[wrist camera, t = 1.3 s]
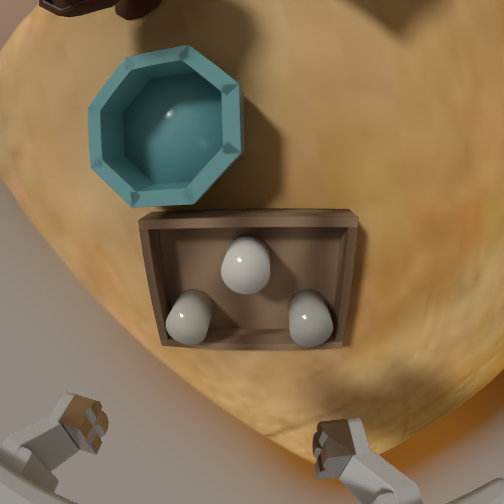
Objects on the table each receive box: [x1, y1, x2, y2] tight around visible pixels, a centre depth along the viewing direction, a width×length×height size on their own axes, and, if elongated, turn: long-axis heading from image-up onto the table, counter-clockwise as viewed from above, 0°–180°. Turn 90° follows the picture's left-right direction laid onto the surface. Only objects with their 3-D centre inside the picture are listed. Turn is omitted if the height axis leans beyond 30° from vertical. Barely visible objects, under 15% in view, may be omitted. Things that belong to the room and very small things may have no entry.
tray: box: [138, 209, 359, 350], centre depth 26 cm, size 18×13×3 cm
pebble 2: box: [221, 234, 270, 294], centre depth 24 cm, size 4×4×4 cm
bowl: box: [88, 45, 245, 208], centre depth 21 cm, size 12×12×5 cm
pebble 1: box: [166, 289, 214, 345], centre depth 27 cm, size 4×4×4 cm
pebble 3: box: [287, 289, 333, 347], centre depth 26 cm, size 4×4×4 cm
